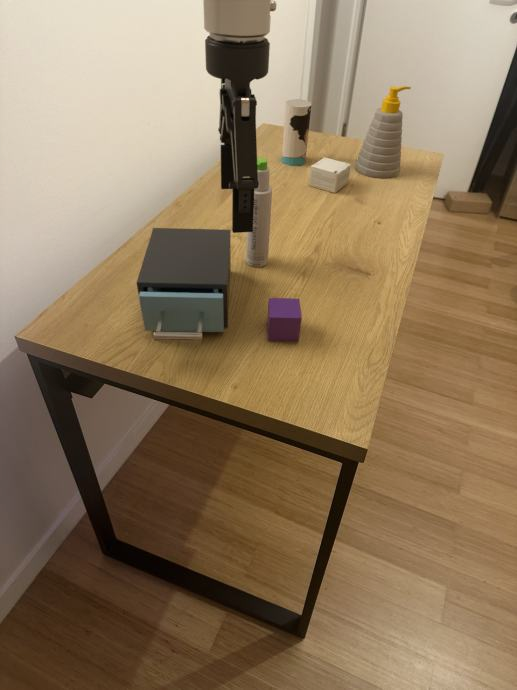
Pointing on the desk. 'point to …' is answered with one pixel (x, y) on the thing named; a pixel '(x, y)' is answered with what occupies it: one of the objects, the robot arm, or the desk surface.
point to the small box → (329, 174)
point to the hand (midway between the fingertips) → (235, 208)
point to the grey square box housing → (188, 261)
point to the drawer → (182, 312)
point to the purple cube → (284, 319)
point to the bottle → (260, 219)
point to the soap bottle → (383, 140)
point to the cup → (296, 131)
